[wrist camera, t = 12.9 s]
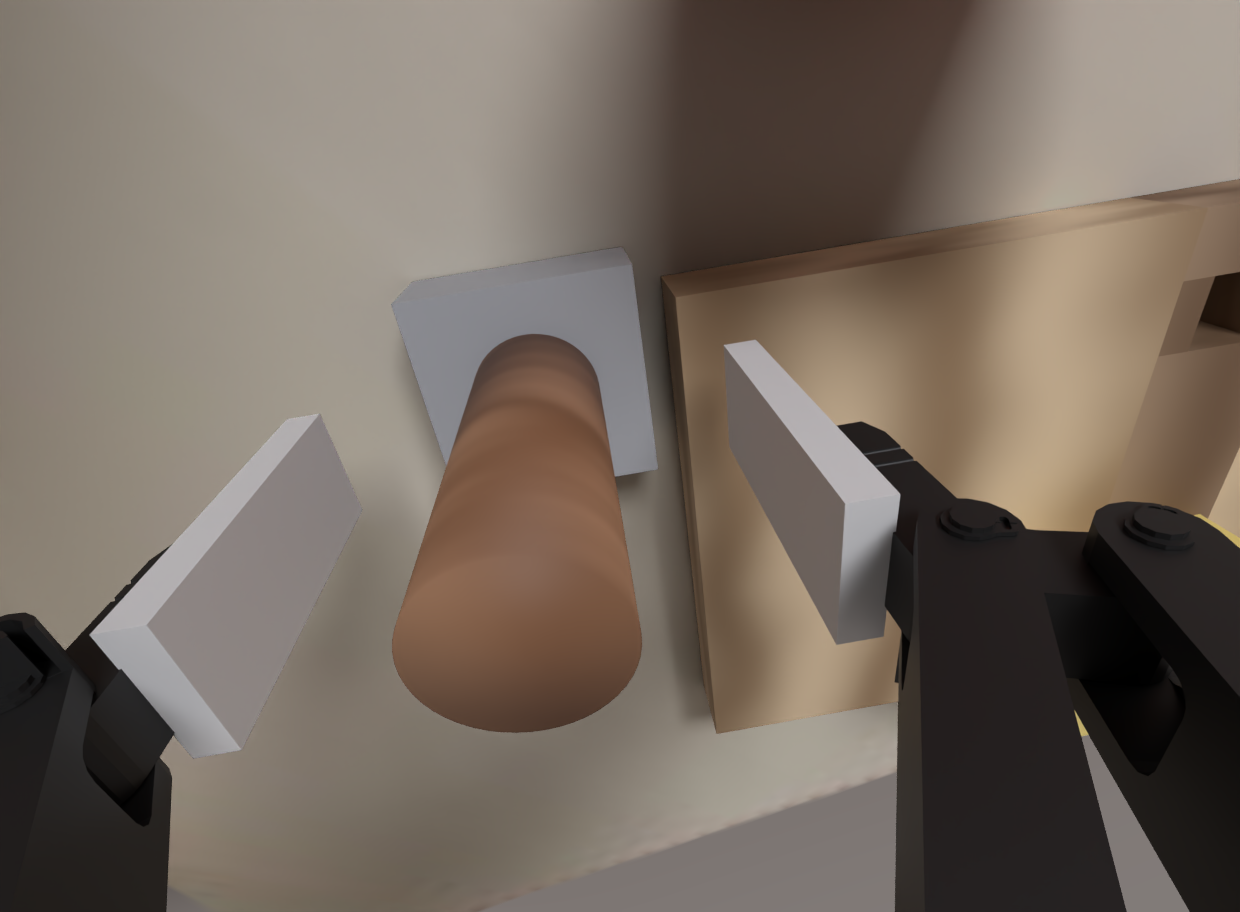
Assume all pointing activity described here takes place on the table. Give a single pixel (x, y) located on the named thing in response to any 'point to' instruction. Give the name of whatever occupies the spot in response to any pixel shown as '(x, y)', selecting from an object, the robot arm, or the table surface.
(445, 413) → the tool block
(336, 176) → the table surface
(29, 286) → the table surface
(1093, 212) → the subfloor panel
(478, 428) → the brown rounded cylinder
